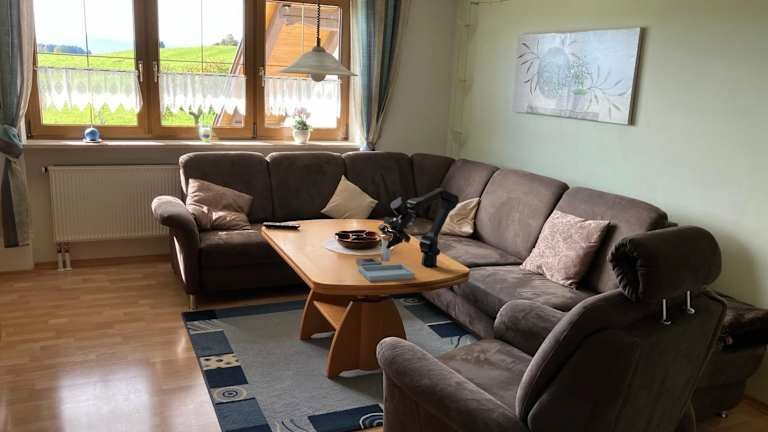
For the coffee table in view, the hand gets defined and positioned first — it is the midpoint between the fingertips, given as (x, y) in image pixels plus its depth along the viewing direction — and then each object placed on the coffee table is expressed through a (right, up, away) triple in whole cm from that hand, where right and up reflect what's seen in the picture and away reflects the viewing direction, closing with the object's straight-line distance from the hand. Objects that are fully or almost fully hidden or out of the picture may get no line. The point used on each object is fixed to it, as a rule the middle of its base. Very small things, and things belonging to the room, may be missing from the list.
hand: (383, 247), depth 288 cm
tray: (+1, -13, +3) cm, 14 cm away
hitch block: (-7, -10, +17) cm, 21 cm away
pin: (+1, -6, +2) cm, 7 cm away
